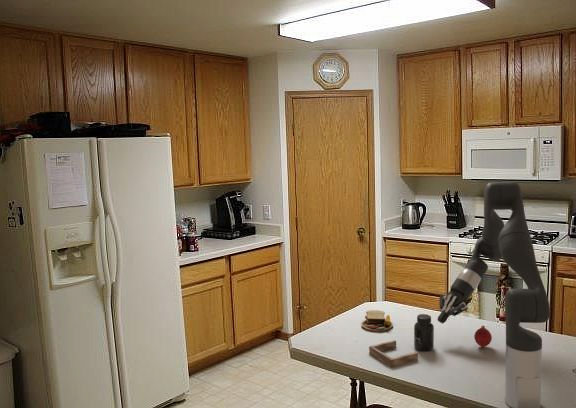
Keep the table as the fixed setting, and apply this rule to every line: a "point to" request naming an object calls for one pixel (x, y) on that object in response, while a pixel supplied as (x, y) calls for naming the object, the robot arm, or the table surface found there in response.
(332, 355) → the table surface
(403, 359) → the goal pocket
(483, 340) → the onion
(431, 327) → the supplement bottle
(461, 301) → the robot arm
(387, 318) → the toy sandwich meal
